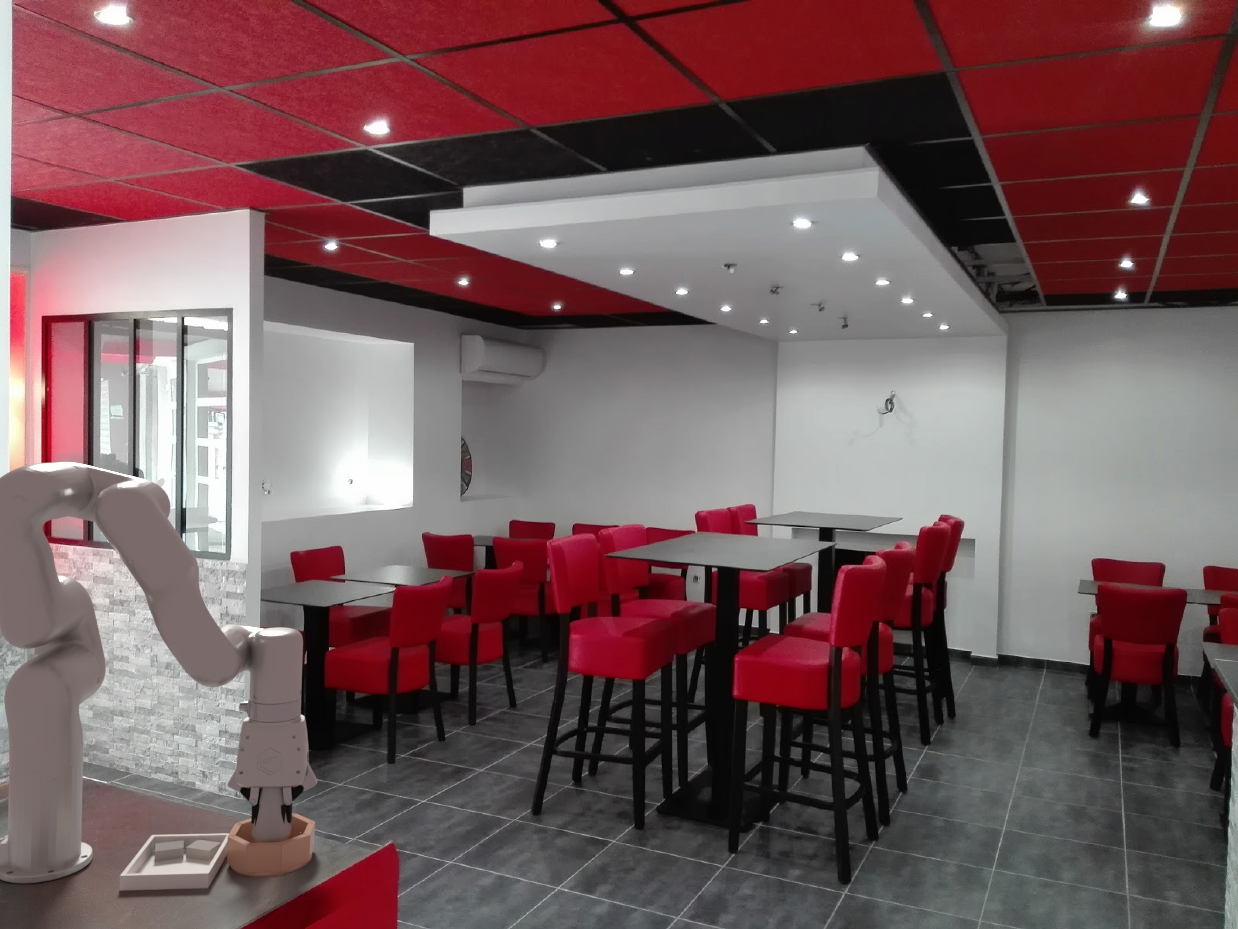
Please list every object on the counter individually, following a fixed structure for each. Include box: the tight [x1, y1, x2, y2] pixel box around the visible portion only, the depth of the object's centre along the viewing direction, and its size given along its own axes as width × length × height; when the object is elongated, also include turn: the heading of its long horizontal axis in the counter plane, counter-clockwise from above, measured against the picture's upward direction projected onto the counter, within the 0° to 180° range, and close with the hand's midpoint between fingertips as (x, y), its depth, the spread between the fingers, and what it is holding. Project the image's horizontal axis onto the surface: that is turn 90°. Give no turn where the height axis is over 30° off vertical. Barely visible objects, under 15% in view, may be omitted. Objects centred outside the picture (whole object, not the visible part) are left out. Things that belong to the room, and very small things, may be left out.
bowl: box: [226, 812, 316, 878], centre depth 150 cm, size 12×12×5 cm
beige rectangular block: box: [186, 840, 221, 861], centre depth 151 cm, size 4×3×2 cm
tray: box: [119, 832, 230, 892], centre depth 146 cm, size 12×14×2 cm
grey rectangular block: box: [155, 840, 184, 862], centre depth 150 cm, size 4×3×2 cm
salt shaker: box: [251, 787, 291, 843], centre depth 150 cm, size 6×6×13 cm
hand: (271, 826), depth 150 cm, fingers closed on salt shaker, 3 cm apart
